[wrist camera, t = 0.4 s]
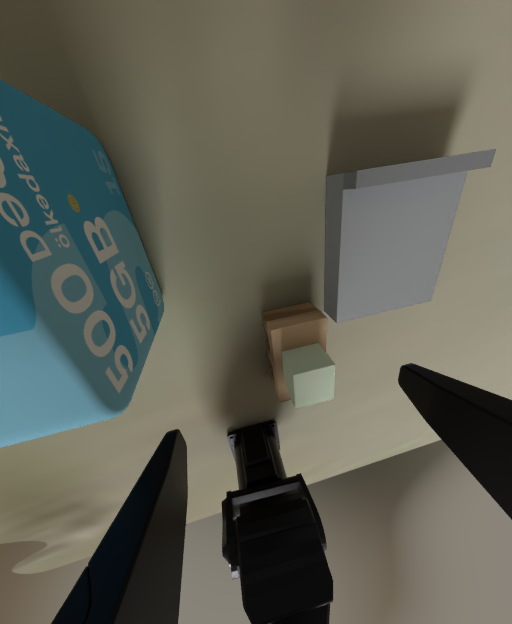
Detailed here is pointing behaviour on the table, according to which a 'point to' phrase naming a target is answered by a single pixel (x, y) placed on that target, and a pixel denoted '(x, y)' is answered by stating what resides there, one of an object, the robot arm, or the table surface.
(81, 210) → the data package
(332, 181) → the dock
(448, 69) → the table surface
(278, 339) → the brown cardboard box
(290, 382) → the pale green block
